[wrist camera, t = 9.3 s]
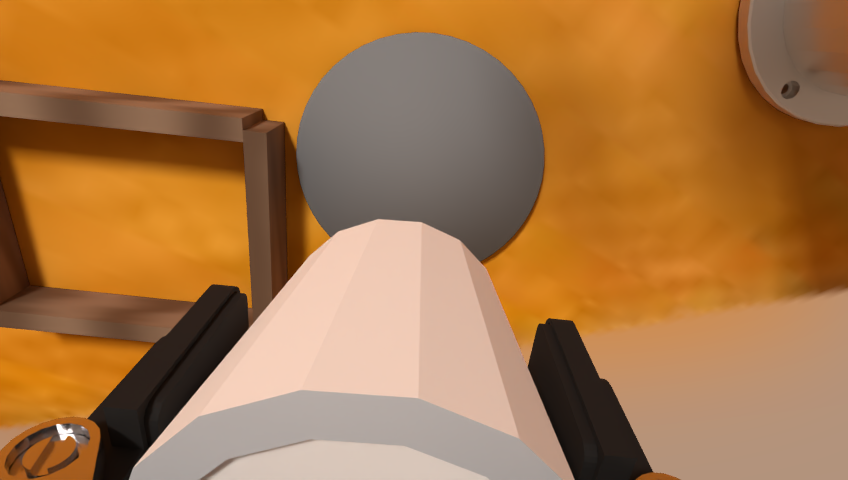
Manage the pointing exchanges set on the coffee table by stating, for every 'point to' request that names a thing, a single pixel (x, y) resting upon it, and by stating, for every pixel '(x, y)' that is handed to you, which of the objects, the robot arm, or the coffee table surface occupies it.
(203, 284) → the coffee table surface
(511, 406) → the white cylinder
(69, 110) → the brown rectangular frame
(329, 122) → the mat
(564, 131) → the coffee table surface
